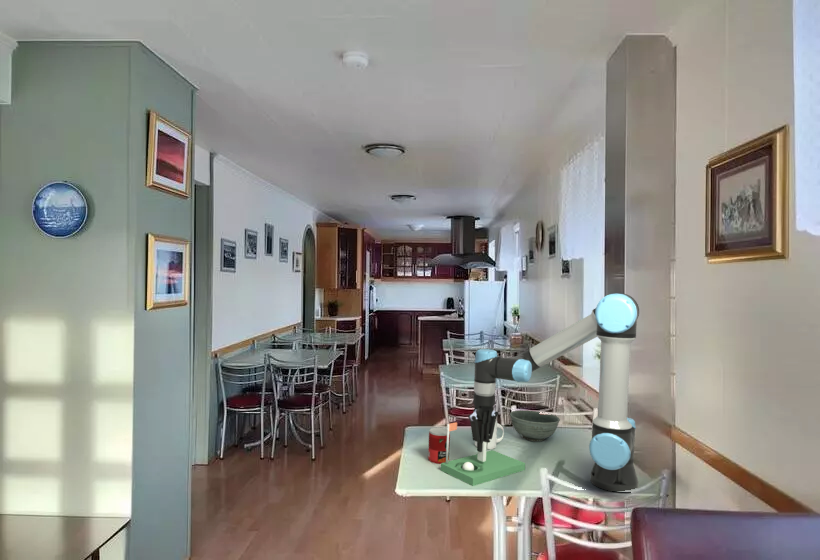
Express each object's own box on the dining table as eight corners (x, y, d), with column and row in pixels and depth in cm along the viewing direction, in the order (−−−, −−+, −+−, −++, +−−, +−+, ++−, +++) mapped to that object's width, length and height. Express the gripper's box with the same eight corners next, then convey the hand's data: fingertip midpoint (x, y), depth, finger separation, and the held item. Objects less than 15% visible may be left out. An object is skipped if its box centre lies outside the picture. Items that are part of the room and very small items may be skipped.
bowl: (500, 439, 224) (501, 415, 224) (520, 428, 241) (521, 406, 241) (548, 450, 212) (549, 425, 212) (565, 437, 229) (566, 414, 229)
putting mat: (524, 470, 190) (526, 424, 189) (472, 486, 174) (474, 435, 173) (492, 456, 202) (493, 413, 202) (440, 470, 186) (442, 423, 186)
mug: (507, 449, 211) (508, 422, 211) (478, 450, 209) (479, 423, 209) (499, 442, 220) (500, 416, 219) (471, 443, 217) (472, 417, 217)
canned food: (440, 465, 191) (441, 435, 191) (423, 459, 196) (424, 430, 196) (453, 460, 196) (454, 431, 196) (436, 455, 202) (437, 426, 202)
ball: (477, 464, 183) (468, 467, 180) (475, 475, 184) (466, 477, 181) (469, 458, 186) (461, 461, 183) (467, 468, 187) (459, 471, 184)
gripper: (489, 389, 194) (486, 453, 194) (463, 393, 186) (460, 460, 186) (505, 393, 188) (502, 459, 188) (478, 398, 180) (476, 467, 181)
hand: (481, 460), depth 187 cm, fingers closed
